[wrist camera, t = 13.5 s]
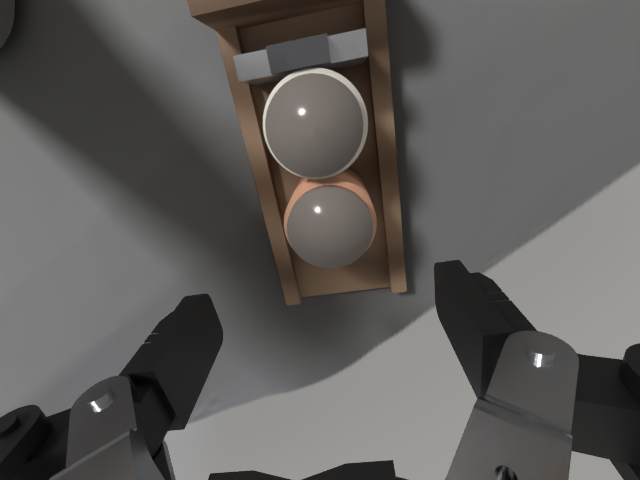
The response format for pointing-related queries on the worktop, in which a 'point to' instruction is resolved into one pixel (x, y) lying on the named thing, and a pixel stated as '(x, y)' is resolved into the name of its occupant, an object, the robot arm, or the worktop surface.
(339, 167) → the cream jar
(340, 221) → the terracotta jar
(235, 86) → the lane
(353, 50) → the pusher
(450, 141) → the worktop surface
